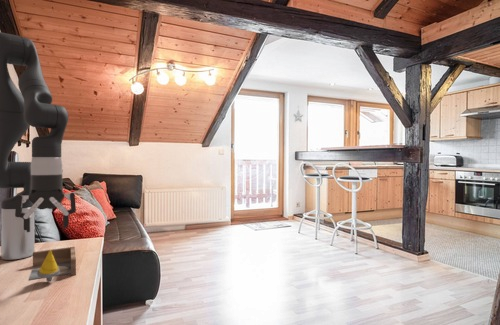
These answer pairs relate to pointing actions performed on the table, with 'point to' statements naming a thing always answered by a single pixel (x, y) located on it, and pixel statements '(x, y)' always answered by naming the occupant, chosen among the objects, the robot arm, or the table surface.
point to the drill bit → (48, 268)
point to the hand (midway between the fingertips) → (47, 229)
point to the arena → (63, 260)
